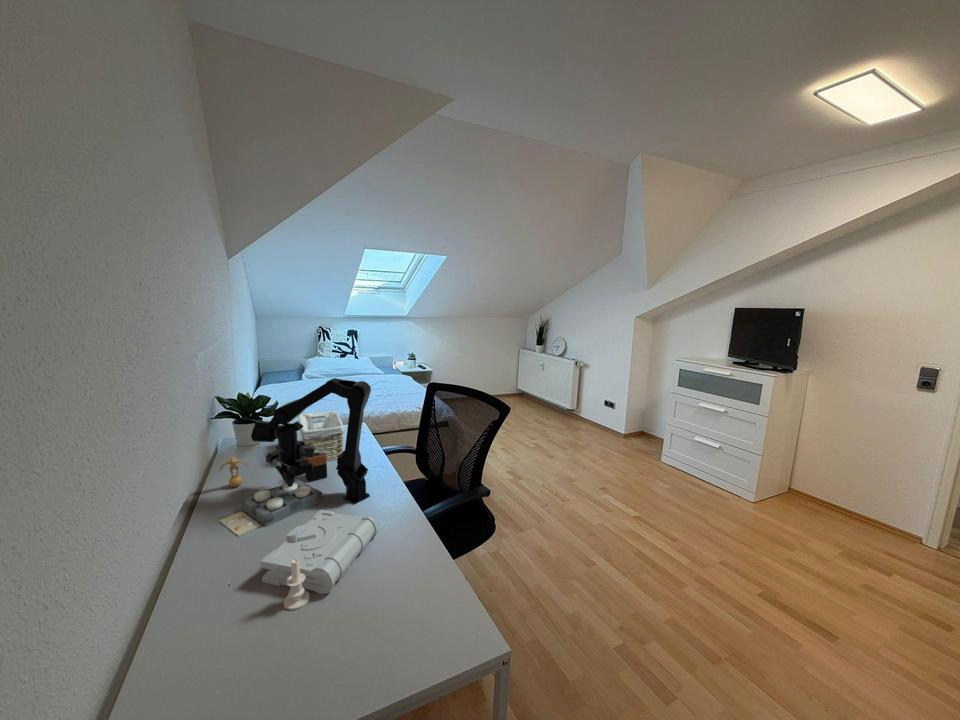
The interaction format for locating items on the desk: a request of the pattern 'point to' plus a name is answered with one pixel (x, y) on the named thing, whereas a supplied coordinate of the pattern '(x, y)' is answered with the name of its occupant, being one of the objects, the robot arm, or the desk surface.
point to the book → (320, 550)
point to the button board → (289, 504)
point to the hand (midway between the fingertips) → (290, 486)
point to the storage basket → (323, 433)
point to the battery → (317, 466)
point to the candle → (296, 589)
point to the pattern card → (239, 523)
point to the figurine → (236, 479)
